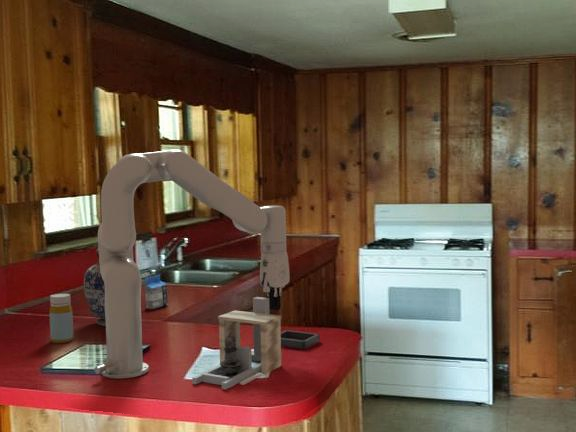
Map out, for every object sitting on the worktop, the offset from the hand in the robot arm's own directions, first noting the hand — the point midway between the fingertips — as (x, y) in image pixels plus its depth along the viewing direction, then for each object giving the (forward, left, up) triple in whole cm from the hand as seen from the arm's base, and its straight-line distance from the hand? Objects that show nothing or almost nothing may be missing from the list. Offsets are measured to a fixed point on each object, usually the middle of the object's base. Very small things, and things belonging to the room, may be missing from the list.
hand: (274, 309), depth 202 cm
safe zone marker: (-24, 0, -13) cm, 27 cm away
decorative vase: (+8, +73, -14) cm, 75 cm away
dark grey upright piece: (-24, 0, -14) cm, 27 cm away
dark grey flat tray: (+12, 0, -13) cm, 18 cm away
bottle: (-18, +70, -14) cm, 73 cm away
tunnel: (-14, 0, -13) cm, 19 cm away
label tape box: (+36, +76, -14) cm, 85 cm away
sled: (-20, 0, -13) cm, 24 cm away
